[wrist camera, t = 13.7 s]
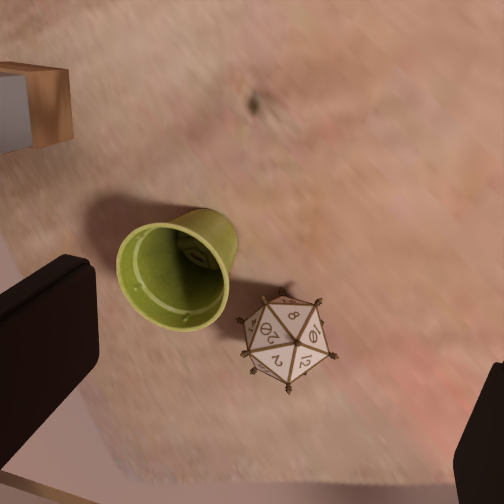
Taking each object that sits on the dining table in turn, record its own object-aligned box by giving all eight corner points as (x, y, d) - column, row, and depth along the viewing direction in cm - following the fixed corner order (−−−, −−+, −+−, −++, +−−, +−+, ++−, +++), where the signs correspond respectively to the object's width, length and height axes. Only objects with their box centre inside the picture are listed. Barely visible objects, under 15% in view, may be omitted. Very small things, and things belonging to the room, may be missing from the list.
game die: (280, 298, 47) (199, 325, 41) (327, 260, 41) (239, 285, 35) (320, 378, 45) (240, 419, 39) (377, 351, 38) (291, 395, 32)
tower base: (9, 61, 40) (-36, 62, 36) (68, 69, 39) (29, 71, 35) (18, 129, 43) (-24, 138, 39) (73, 138, 42) (37, 148, 37)
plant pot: (275, 224, 40) (249, 265, 32) (230, 300, 44) (198, 352, 37) (184, 171, 40) (138, 199, 33) (149, 251, 45) (101, 293, 37)
